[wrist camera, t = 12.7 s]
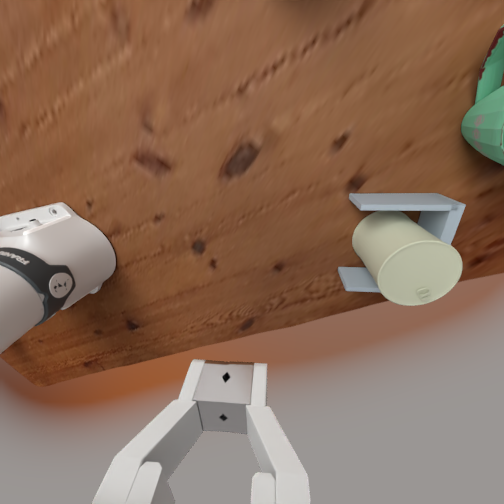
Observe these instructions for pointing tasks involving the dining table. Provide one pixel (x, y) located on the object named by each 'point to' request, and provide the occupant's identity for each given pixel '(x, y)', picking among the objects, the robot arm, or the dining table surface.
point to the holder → (431, 219)
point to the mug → (488, 105)
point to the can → (406, 258)
